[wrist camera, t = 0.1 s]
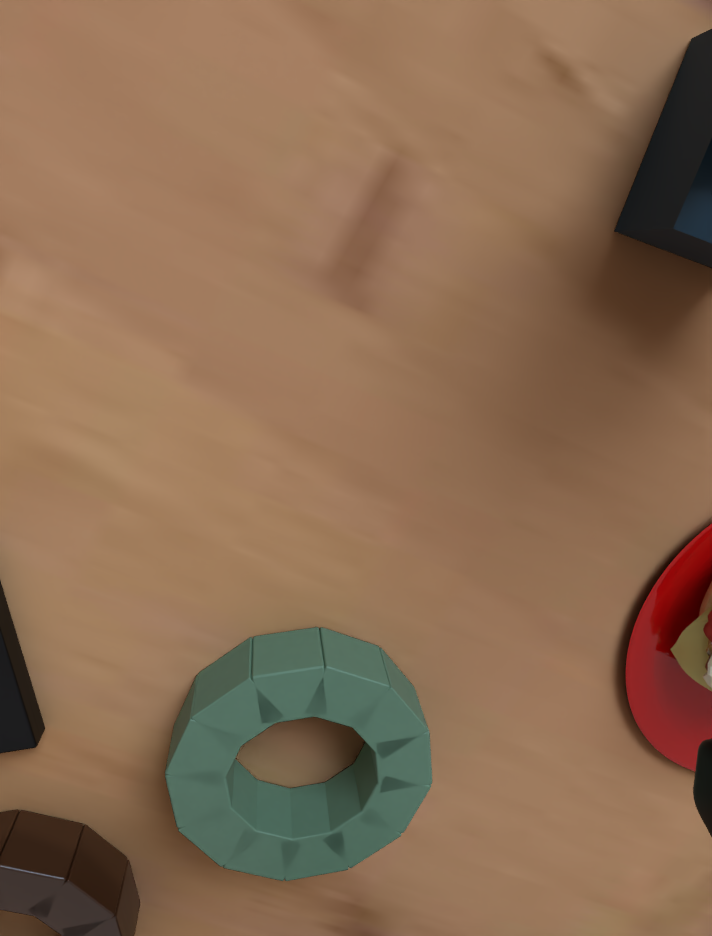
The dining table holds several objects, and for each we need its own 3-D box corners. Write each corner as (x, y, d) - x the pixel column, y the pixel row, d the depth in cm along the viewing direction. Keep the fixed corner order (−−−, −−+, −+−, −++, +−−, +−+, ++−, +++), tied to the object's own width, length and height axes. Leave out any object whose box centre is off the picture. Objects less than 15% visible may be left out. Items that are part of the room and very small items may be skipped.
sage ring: (422, 803, 27) (436, 854, 25) (199, 842, 26) (192, 898, 24) (410, 612, 24) (425, 650, 22) (156, 649, 23) (144, 693, 21)
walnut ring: (156, 958, 28) (146, 1020, 25) (-69, 1001, 27) (-100, 1070, 25) (111, 793, 25) (95, 848, 22) (-145, 835, 24) (-188, 897, 22)
